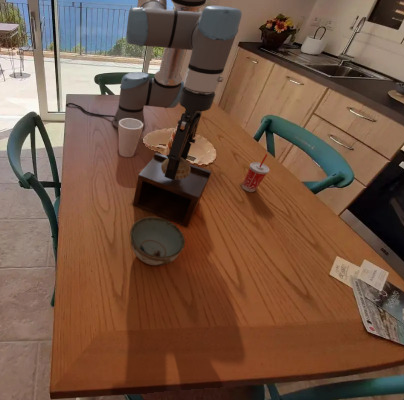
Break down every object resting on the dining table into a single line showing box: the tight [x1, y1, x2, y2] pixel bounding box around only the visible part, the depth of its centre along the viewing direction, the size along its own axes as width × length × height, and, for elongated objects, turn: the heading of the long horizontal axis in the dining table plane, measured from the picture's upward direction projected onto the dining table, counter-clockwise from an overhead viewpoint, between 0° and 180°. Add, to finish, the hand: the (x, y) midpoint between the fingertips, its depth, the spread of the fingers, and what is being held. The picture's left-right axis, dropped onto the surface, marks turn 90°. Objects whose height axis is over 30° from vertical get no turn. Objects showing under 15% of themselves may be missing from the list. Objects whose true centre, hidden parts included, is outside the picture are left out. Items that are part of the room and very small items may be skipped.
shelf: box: [132, 152, 212, 228], centre depth 83 cm, size 18×13×13 cm
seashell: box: [161, 157, 191, 179], centre depth 76 cm, size 8×6×8 cm
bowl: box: [129, 216, 186, 267], centre depth 69 cm, size 14×13×8 cm
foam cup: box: [117, 118, 144, 158], centre depth 106 cm, size 10×9×13 cm
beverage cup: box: [241, 153, 270, 193], centre depth 92 cm, size 6×6×14 cm
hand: (175, 169), depth 77 cm, fingers closed on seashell, 9 cm apart
